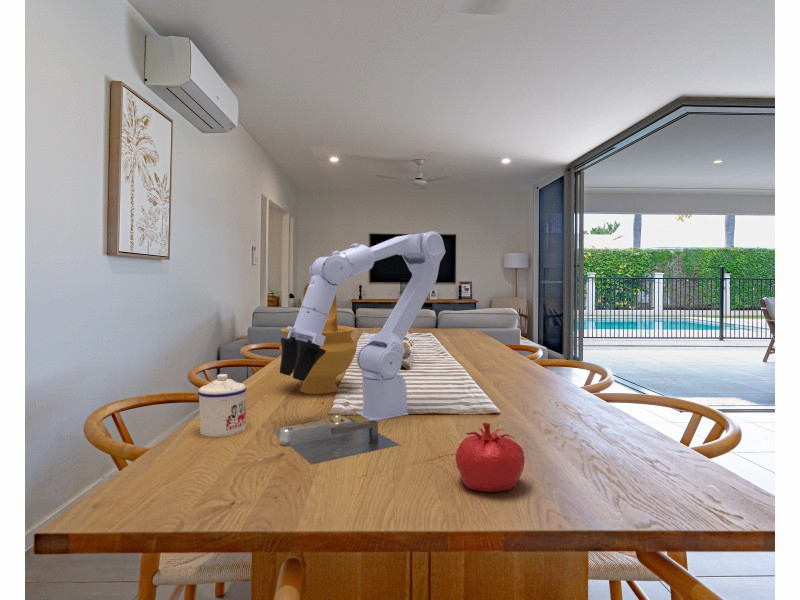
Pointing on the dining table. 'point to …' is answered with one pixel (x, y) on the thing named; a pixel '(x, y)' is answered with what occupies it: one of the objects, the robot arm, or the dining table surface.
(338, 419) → the peg
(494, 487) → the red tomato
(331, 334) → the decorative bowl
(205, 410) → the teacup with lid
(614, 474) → the dining table surface
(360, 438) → the base plate
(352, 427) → the bracket
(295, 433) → the link
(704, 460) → the dining table surface
